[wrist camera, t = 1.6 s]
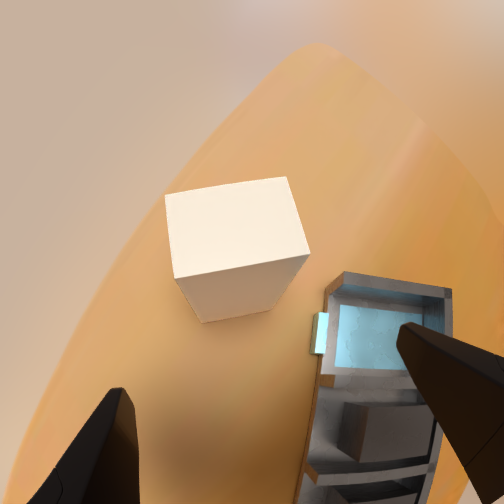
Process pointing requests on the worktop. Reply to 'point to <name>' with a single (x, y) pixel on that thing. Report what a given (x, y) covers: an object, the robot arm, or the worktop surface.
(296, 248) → the white rectangular block
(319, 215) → the worktop surface
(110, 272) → the worktop surface
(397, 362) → the rack
